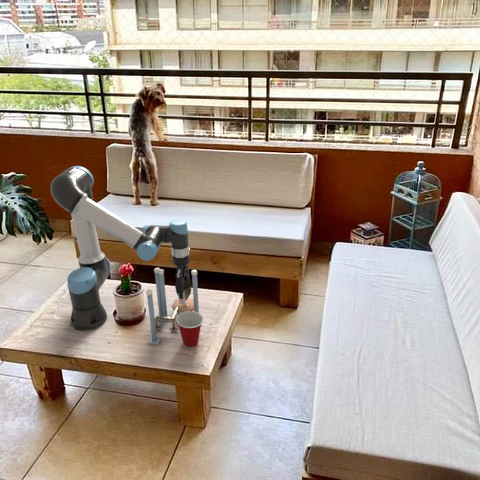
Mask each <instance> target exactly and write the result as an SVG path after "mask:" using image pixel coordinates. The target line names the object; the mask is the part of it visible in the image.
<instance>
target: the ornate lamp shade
mask: <svg viewBox="0 0 480 480" xmlns="http://www.w3.org/2000/svg"><path fill="white" fill-rule="evenodd" d="M174 288H175V293H176V295H177V297H178V298H179V295H178V293H177V292H176V291H177V289H176V282H175V285H174ZM184 291H185V301H186V300H188V298H190V296H191V293H192V282H191V281H190V282H189V281H188V282H187V281H186V280H185V281H184Z"/></svg>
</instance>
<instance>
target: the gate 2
mask: <svg viewBox="0 0 480 480" xmlns="http://www.w3.org/2000/svg"><path fill="white" fill-rule="evenodd" d="M160 269H161V268H160V267H155V268H154V269H153V271H154V276H155V277H154V278H155V285H156V287H155V288H156V297H157V307H158V313H156V314H157V315H156V316H163V312H162V302H161V291H160V281H159V274H158V270H160ZM190 272H191V273H190V274H191V276H192V277H191V281H192V282H191V284H192V294H193V295H192V296H193V298H192V299H193V300H194V309H193V311H194V312H197V313H199V314H200V309H199V307H200V306H199V293H198V291H199V290H198V289H199V288H198V271H197V270H196V269H192V270H191V271H190Z"/></svg>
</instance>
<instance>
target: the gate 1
mask: <svg viewBox="0 0 480 480" xmlns="http://www.w3.org/2000/svg"><path fill="white" fill-rule="evenodd" d="M158 274H159V281H160V291H161V302H162V312H163V317H172V314H168V308H167V307H168V305H167V295H166V285H165V275H164V274H165V270H164V269H163V268H160V270H158ZM153 292H154V291H153V289H151V288H148V289H146V291H145V294H146V299H147V307H148V313H149V314H148V316H149V324H150V330H151V331H150V332H151V334H150V335H151V336H150V339H149V340H148V345H154V346H155V345H157V346H159V344H160V342H161V339H162V337H161V336H157V331H156V324H155V317H156V316H155V309H154V308H155V307H154V297H153ZM159 321H160V322H170V320H162V319H159Z"/></svg>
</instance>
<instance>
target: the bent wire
mask: <svg viewBox="0 0 480 480" xmlns="http://www.w3.org/2000/svg"><path fill="white" fill-rule="evenodd" d="M180 313H181V312H180V308H179V306H177V308H176V310H174V313H173V315H172V316H171V317H163V316H157V315H156V316H155V324H156V332H159V331H160V330H161V326H160V325H159V323H158V320H160V319H162V320H169V321H171V326H172V327H171V328H170V329H169V330H170V332H171V333H177V332H178V331H179V330H178V329H179V328H178V327H176V322H175V321H176V318H177V316H178V315H179V314H180Z"/></svg>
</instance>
